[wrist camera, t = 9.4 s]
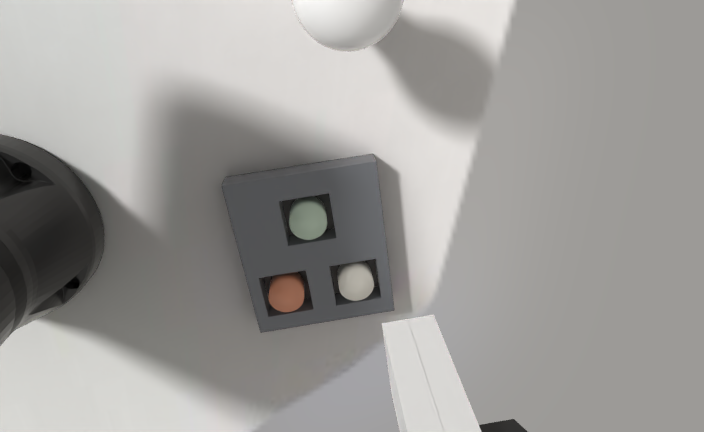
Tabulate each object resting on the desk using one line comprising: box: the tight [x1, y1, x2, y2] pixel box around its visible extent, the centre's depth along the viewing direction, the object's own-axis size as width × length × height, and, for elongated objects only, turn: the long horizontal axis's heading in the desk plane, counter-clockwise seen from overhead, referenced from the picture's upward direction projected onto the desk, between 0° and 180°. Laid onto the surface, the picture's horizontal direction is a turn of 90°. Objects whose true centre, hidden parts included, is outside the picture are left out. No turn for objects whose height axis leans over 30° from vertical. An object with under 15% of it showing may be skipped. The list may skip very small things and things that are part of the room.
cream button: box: [337, 261, 374, 301], centre depth 42 cm, size 3×3×2 cm
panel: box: [222, 154, 394, 333], centre depth 41 cm, size 12×14×2 cm
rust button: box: [269, 272, 304, 312], centre depth 42 cm, size 3×3×2 cm
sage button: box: [289, 196, 327, 240], centre depth 39 cm, size 3×3×2 cm
